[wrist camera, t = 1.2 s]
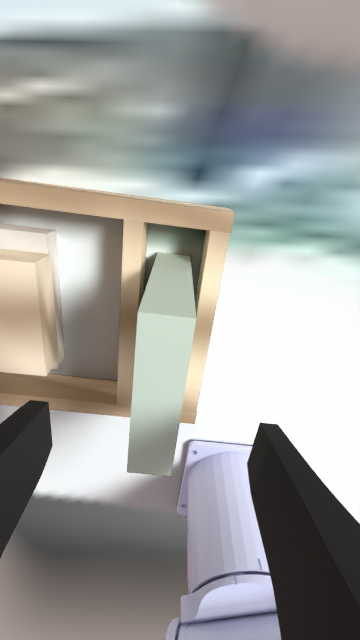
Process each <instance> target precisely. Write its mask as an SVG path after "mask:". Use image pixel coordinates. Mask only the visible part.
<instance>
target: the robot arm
mask: <svg viewBox="0 0 360 640" xmlns="http://www.w3.org/2000/svg"><path fill="white" fill-rule="evenodd" d="M51 448H52V435H51V424H50V412H49V402H46V401H36V400H29V401H28V402H27V403H25V404H24V405H23V406H22V407H20V408H19V409H18V410H17V411H16V412H14V413H13V414H12V415H11V416H9V417H8V418H7V419H6V420H5V421H3V422H2V423H1V424H0V557H1V555H2V553H3V551H4V549H5V547H6V545H7V543H8V541H9V539H10V537H11V535H12V533H13V531H14V529H15V527H16V525H17V523H18V521H19V519H20V517H21V515H22V513H23V511H24V509H25V507H26V506H27V504H28V502H29V499H30V497H31V496H32V494H33V492H34V490H35V488H36V486H37V483H38V481H39V479H40V477H41V475H42V472H43V470H44V467H45V465H46V462H47V459H48V456H49V454H50V451H51ZM177 514H178V515H180V516H187V528H188V529H187V530H188V531H187V533H188V588H189V595H185V596H182V597H181V617H179V618H175V619H173V620H172V621H171V623H170V625H169V627H168V629H167V632H166V634H165V636H164V638H163V640H360V524H359V523H358V522H357V521H356V520H355V519H354V517H353V516H352V515H351V514H350V513H349V512H348V511H347V510H346V508H345V507H344V506H343V505H342V504H341V503H340V502H339V501H338V500H337V498H336V497H335V496H334V495H333V494H332V493H331V491H330V490H329V489H328V488H327V487H326V486H325V484H324V483H323V482H322V481H321V479H320V478H319V477H318V476H317V475H316V473H315V472H314V471H313V470H312V468H311V467H310V466H309V465H308V463H307V462H306V461H305V460H304V458H303V457H302V456H301V454H300V453H299V452H298V451H297V449H296V448H295V447H294V445H293V444H292V443H291V442H290V440H289V439H288V438H287V436H286V435H285V434H284V432H283V431H282V430H281V429H280V427H279V426H278V425H276V424H266V423H260V425H259V428H258V431H257V434H256V437H255V440H254V443H253V446H245V445H235V444H225V443H214V442H204V441H191V442H190V443H189V446H188V451H187V457H186V462H185V467H184V473H183V478H182V483H181V489H180V494H179V499H178V505H177Z"/></svg>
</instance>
